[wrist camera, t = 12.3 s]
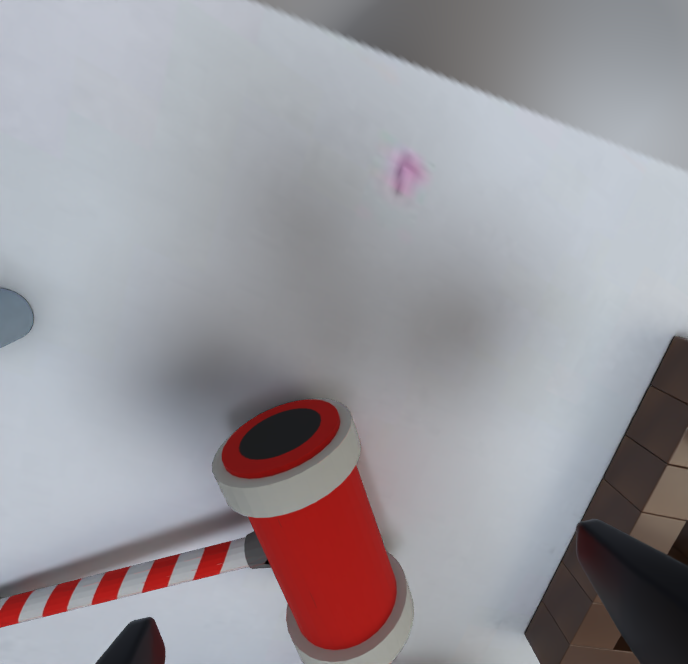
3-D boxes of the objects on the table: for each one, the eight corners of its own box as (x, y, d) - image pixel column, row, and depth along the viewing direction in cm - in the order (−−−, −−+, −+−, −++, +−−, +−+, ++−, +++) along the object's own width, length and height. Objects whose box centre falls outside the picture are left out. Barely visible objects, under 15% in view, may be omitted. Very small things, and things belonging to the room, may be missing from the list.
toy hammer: (30, 677, 25) (-54, 828, 19) (-91, 523, 21) (-242, 649, 15) (399, 552, 25) (432, 660, 19) (341, 380, 22) (359, 447, 16)
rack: (638, 648, 30) (674, 694, 27) (524, 634, 29) (549, 682, 26) (802, 372, 25) (867, 393, 22) (674, 335, 23) (727, 353, 20)
